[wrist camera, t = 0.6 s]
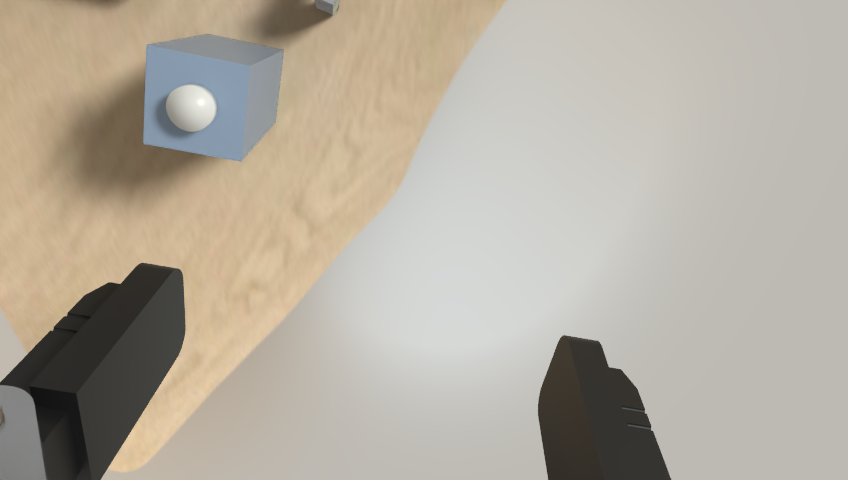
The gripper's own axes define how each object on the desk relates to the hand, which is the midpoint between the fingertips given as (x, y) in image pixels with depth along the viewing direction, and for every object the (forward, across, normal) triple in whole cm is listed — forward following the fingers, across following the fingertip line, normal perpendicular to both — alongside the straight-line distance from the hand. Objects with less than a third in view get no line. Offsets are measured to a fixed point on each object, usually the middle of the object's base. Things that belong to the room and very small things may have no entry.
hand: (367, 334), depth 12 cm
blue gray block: (+26, +11, +3) cm, 28 cm away
